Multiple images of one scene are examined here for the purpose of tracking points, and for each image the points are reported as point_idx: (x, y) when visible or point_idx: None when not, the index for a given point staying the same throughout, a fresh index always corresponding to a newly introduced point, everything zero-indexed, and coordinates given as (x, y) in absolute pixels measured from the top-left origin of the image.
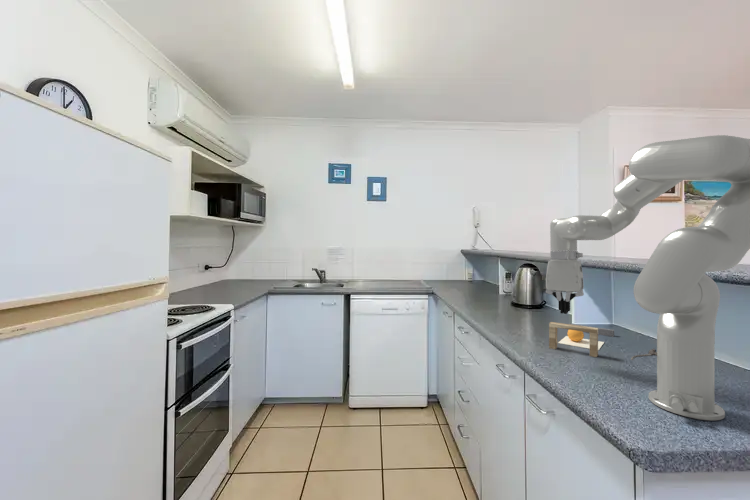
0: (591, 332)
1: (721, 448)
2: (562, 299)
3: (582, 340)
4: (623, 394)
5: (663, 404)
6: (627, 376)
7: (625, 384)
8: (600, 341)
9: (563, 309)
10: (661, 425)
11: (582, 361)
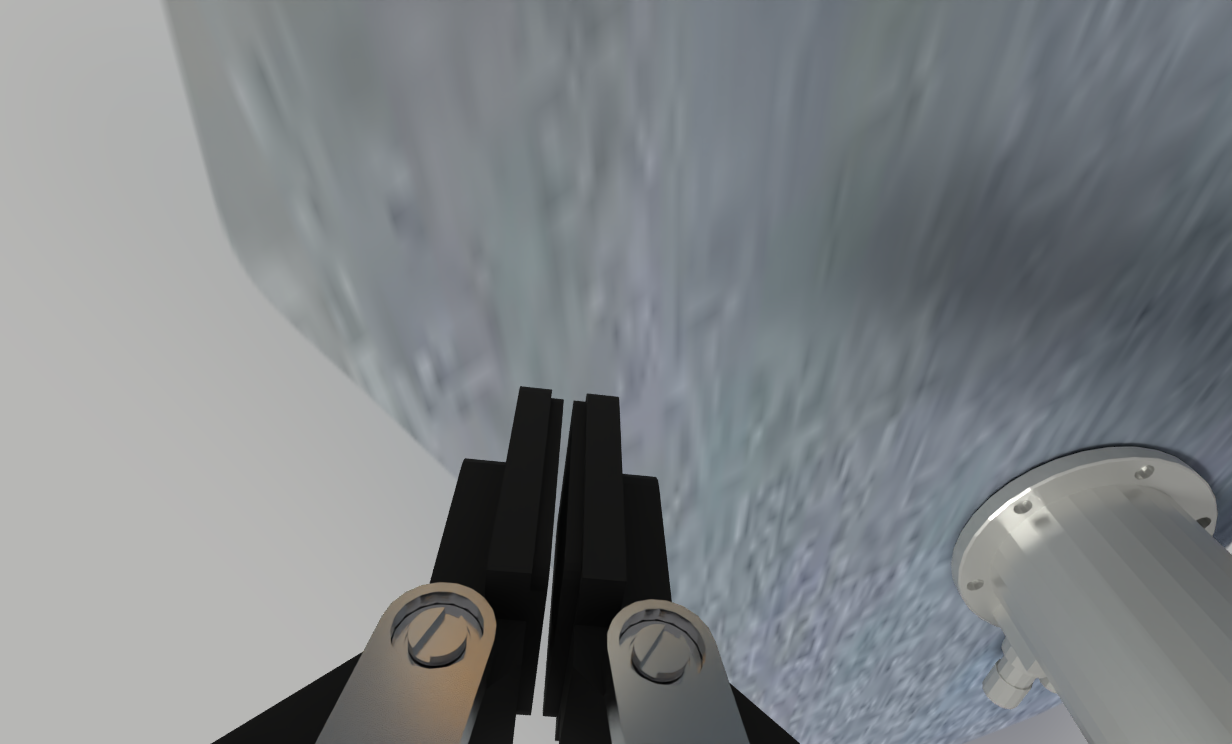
0: None
1: (1011, 722)
2: (510, 741)
3: None
4: (860, 541)
5: (979, 614)
6: (971, 278)
7: (910, 420)
8: None
9: (553, 583)
10: (907, 690)
11: (713, 93)
